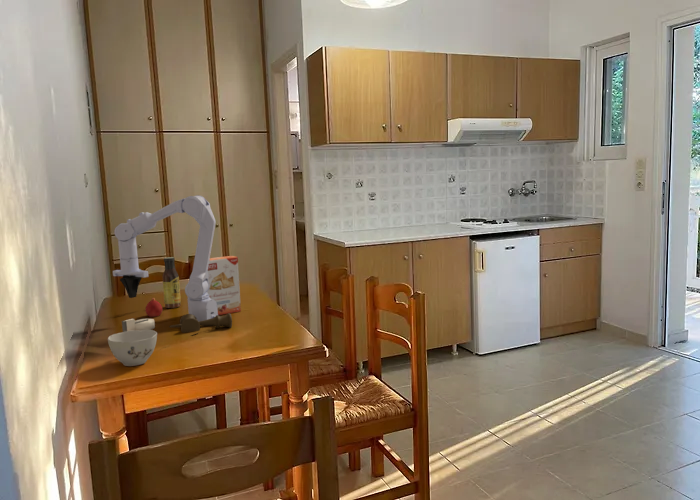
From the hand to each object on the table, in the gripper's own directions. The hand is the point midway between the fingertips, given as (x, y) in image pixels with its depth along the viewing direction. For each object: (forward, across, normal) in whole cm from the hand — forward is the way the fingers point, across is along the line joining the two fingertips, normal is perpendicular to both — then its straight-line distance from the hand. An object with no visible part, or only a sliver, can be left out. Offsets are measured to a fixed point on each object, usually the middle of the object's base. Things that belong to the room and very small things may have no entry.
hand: (132, 297), depth 189 cm
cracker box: (+11, -18, -24) cm, 32 cm away
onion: (+11, +1, -10) cm, 15 cm away
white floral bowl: (+11, -30, +29) cm, 43 cm away
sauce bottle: (+11, +9, -28) cm, 31 cm away
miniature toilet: (+9, -9, +7) cm, 14 cm away
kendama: (+11, -27, -2) cm, 29 cm away
